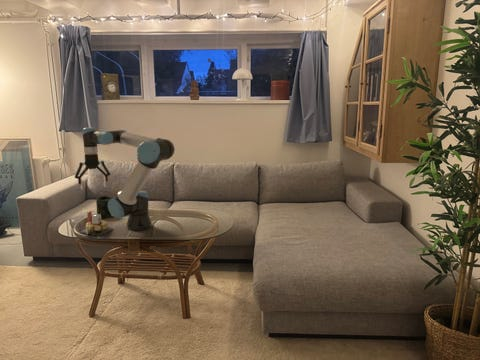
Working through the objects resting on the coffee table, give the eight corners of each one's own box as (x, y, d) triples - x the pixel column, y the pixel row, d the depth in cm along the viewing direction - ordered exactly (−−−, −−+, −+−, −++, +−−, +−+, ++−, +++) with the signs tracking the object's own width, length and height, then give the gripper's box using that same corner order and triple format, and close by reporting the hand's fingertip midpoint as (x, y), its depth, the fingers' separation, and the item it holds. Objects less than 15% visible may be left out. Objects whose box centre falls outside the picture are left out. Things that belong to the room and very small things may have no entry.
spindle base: (113, 229, 227) (112, 213, 225) (95, 237, 213) (94, 220, 211) (96, 226, 231) (96, 211, 229) (78, 233, 218) (77, 217, 216)
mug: (115, 212, 261) (115, 196, 258) (106, 219, 246) (106, 201, 244) (100, 212, 261) (100, 195, 259) (91, 218, 247) (90, 201, 245)
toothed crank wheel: (111, 229, 223) (111, 215, 221) (91, 233, 214) (91, 219, 213) (98, 222, 234) (98, 209, 232) (79, 227, 225) (78, 213, 224)
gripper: (110, 151, 233) (113, 184, 237) (67, 154, 220) (70, 189, 224) (113, 152, 227) (116, 186, 230) (69, 155, 213) (72, 191, 217)
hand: (93, 188), depth 227 cm, fingers open, 13 cm apart
